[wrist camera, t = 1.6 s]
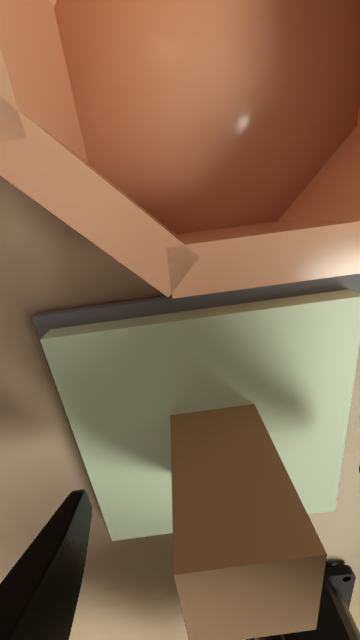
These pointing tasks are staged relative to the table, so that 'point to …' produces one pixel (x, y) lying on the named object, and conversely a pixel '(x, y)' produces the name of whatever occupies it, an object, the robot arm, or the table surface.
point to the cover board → (202, 377)
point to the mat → (183, 306)
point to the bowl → (190, 133)
